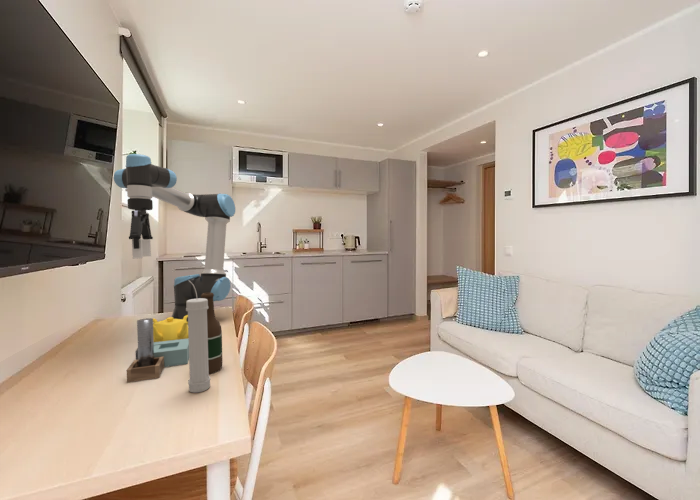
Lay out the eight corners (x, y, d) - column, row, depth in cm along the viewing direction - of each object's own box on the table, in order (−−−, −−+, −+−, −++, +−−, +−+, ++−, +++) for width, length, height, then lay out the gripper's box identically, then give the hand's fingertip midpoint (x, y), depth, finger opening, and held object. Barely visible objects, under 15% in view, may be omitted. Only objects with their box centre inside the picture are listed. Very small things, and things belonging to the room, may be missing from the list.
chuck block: (152, 356, 110) (152, 342, 110) (191, 351, 114) (190, 338, 114) (144, 369, 99) (143, 354, 98) (187, 363, 103) (186, 348, 103)
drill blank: (140, 371, 96) (138, 319, 96) (155, 369, 98) (154, 317, 97) (137, 376, 92) (135, 322, 92) (152, 374, 94) (151, 320, 93)
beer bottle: (197, 377, 93) (195, 296, 92) (193, 368, 99) (191, 292, 98) (225, 371, 97) (223, 293, 96) (220, 362, 103) (218, 290, 103)
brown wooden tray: (134, 371, 97) (134, 360, 97) (164, 367, 100) (163, 356, 100) (126, 382, 90) (126, 370, 90) (159, 377, 93) (158, 365, 92)
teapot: (151, 339, 130) (150, 316, 129) (189, 334, 136) (189, 311, 136) (147, 350, 117) (147, 324, 116) (190, 343, 123) (189, 319, 123)
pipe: (214, 384, 88) (211, 277, 87) (202, 395, 82) (198, 280, 81) (196, 383, 89) (192, 277, 88) (181, 394, 82) (178, 280, 81)
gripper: (136, 202, 124) (138, 255, 125) (116, 193, 101) (119, 259, 101) (158, 202, 127) (160, 255, 127) (144, 194, 103) (146, 258, 104)
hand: (142, 257), depth 114 cm, fingers open, 13 cm apart
